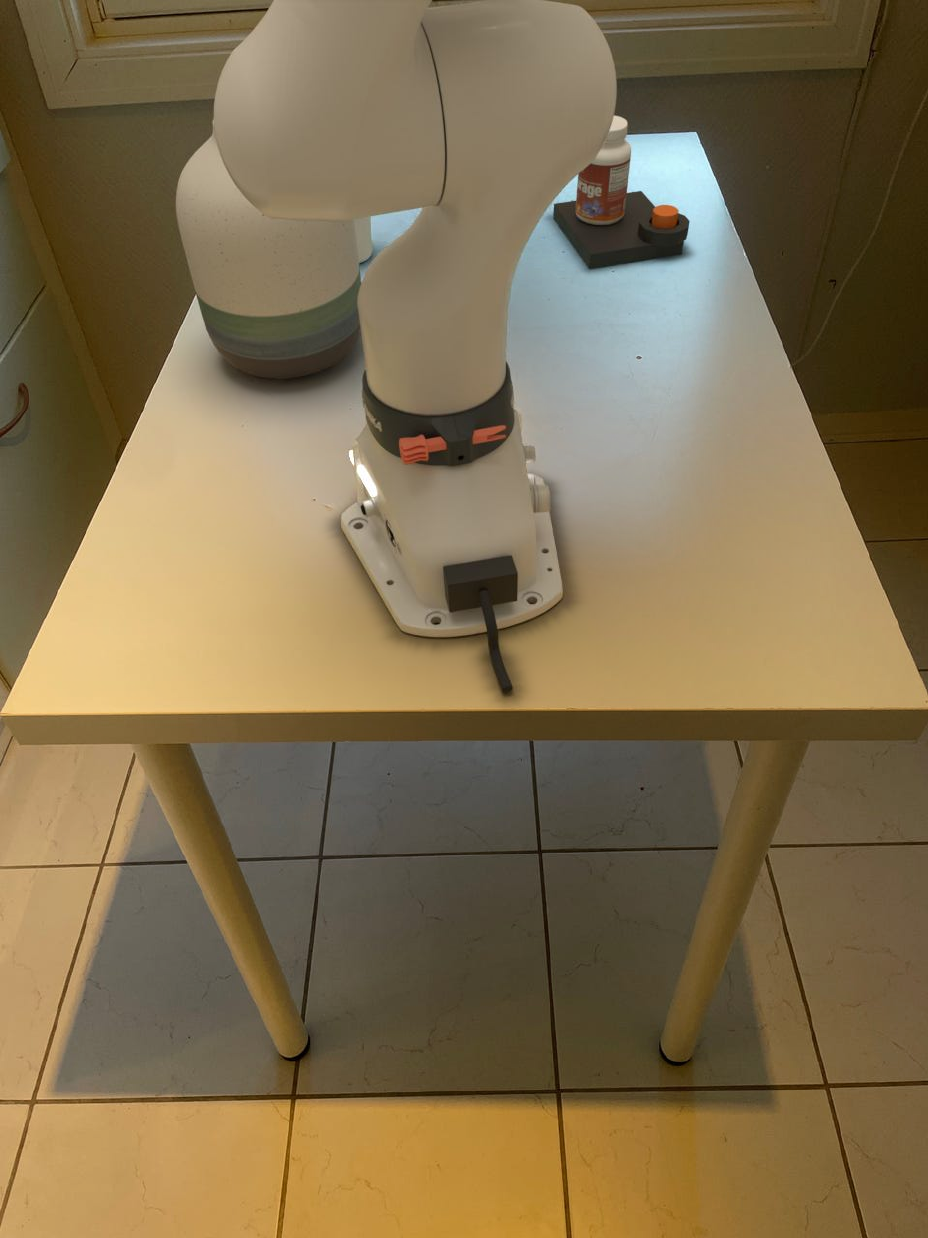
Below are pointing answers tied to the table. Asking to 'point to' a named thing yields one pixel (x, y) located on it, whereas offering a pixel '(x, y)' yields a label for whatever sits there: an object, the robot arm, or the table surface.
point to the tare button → (664, 216)
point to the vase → (266, 276)
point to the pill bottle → (606, 179)
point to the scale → (621, 234)
